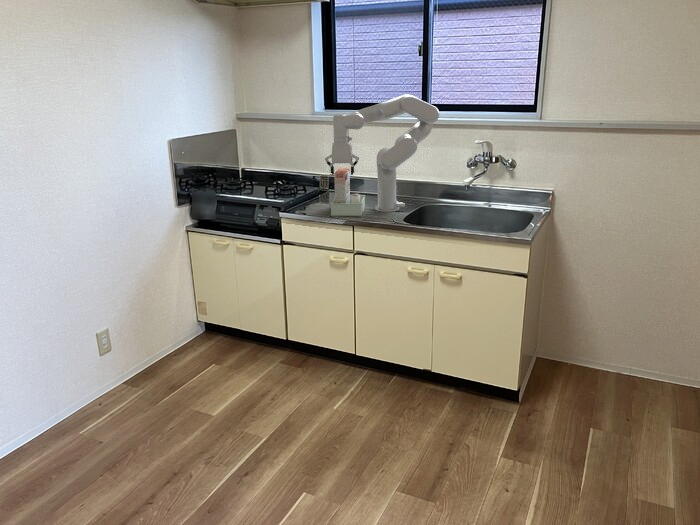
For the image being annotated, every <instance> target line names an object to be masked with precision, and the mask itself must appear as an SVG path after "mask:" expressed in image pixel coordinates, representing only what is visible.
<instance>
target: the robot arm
mask: <svg viewBox="0 0 700 525" xmlns="http://www.w3.org/2000/svg"><path fill="white" fill-rule="evenodd" d="M405 114H407V115H409V116H412V117H414V118H415V119H417V120H416V122H415V123H414V124H413V126H412V127H410V128H409V129H408V130H406V131H405V132H404V133H402V134H401V135H400V136H398V137H397V138H396V140H395V142H394V145H393V146H391V147H383V148H381V149H379V151H378V152H377V154H376V168H377V169H376V171H377V205H375V207H374V210H375V211H378V212H383V213H389V212H391V213H392V212H398V211H399V210H400V207H402V208H403V207H406V203H405V202H401V201H400V202H399V201H398V199H397V168H398V167H399V166H401V165H402V164H403V163H405V162H406V161H407V160H409V159H410V158H412V157H413V156H414V155H415V153H416V152H417V151H418V145H419V144H420V143H421V142H422V141H424V140H425V139H426V138H428V136H429V135H430V133H431V132H432V129H433V127H434V123H437V121H438V120H439V117H440V111H439V109H438V107H437V106H434V105H432V104H431V103H428V102H426V101H424V100H422V99H420V98H418V97H417V96H414V95H412V94H402V95H399V96H397V97H393V98H391V99H388V100H385V101H383V102H380V103H377V104H374V105H370V106H367V107H364V108H361V109H358V110H355V111H352V112H351V113H349V114H345V113H337V114H334V115H333V116H332V125H333V127H332V128H333V142H332V144H331V154H329V155H328V156H326V157H325V158H324V160H325V162H326V165H328V166H329V167H330V174H331V176H334V173H335V166H334V165H335V164H349V165H350V175H351V176H353V175H354V174H355V166H356V165H357V164H358V162H359V160H360V157H359V156H357V155H355V154H353V149H352V148H353V147H352V142H350V141H353V137H351V136H350V130H361V129H363V128H364V127H365V125H366V124H369V123H373V122H378V121H380V122H381V121H387V120H390V119H393V118H395V117H398V116H402V115H405ZM329 159H331V162H330V161H329ZM353 159H355V161H353Z"/></svg>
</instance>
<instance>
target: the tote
mask: <svg viewBox="0 0 700 525" xmlns="http://www.w3.org/2000/svg"><path fill="white" fill-rule="evenodd" d="M359 195H360V203H352V194H350V203H335V198H334V199H333V201H332V202H330V203H329V205H330V215H331V217H332V216H335V217H336V216H339V217H340V216H342V217H343V216H344V217H345V216H355V217H356V216H357V217H358V216H360V217H361V216H362V215H363V213H364V210H365V208H366V201H365V200H366V199H365V197H366V195H365V194H359Z"/></svg>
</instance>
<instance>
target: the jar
mask: <svg viewBox="0 0 700 525" xmlns="http://www.w3.org/2000/svg"><path fill="white" fill-rule="evenodd" d="M351 195H352V203H360V195H361V194H360V193H352V194H351Z"/></svg>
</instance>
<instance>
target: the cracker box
mask: <svg viewBox="0 0 700 525" xmlns="http://www.w3.org/2000/svg"><path fill="white" fill-rule="evenodd" d="M350 175H351V172H350V168H349V167H347V168H346V167H341V168H340V167H339V168H338V169H337V170H336V171H334V175H333V176H334V199H335V203H350V195H351V193H350V192H351V187H350V186H351V184H350V181H351V180H350V178H351V177H350Z"/></svg>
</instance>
